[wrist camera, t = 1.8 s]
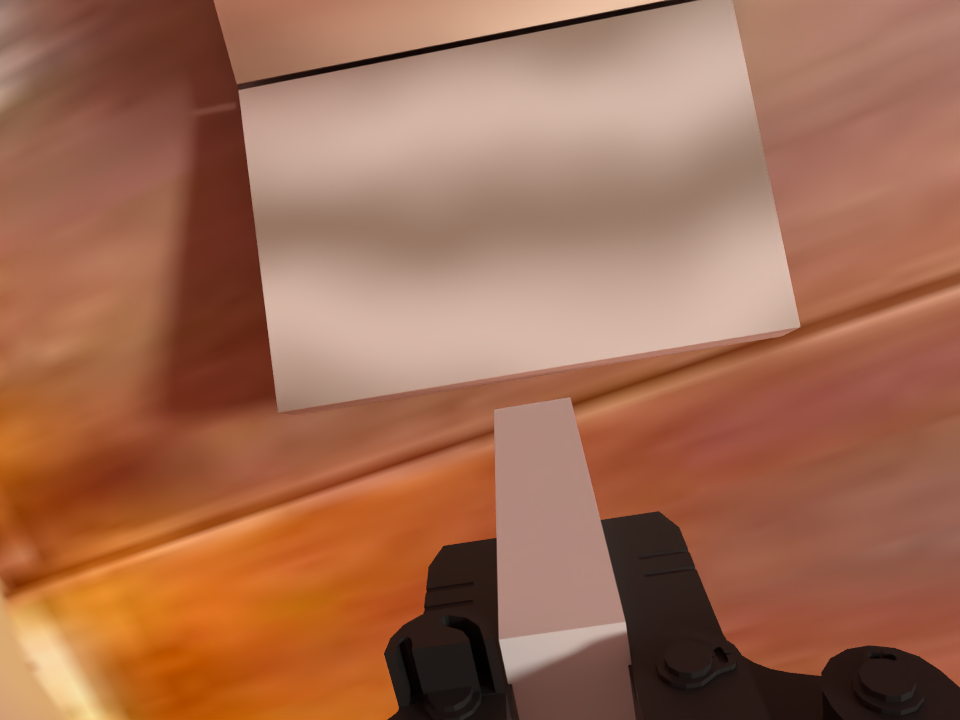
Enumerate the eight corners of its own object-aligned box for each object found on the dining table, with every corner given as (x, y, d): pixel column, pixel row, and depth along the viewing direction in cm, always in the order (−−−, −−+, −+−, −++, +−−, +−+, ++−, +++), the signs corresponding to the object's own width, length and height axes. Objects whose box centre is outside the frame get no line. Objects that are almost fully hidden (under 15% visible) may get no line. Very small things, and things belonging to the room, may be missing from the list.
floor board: (140, -280, 23) (108, -311, 21) (702, -410, 21) (724, -458, 19) (323, 385, 30) (312, 408, 28) (747, 315, 29) (766, 334, 27)
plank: (260, 114, 26) (238, 90, 24) (718, 26, 25) (730, -6, 23) (297, 415, 25) (278, 412, 23) (781, 336, 24) (800, 326, 22)
